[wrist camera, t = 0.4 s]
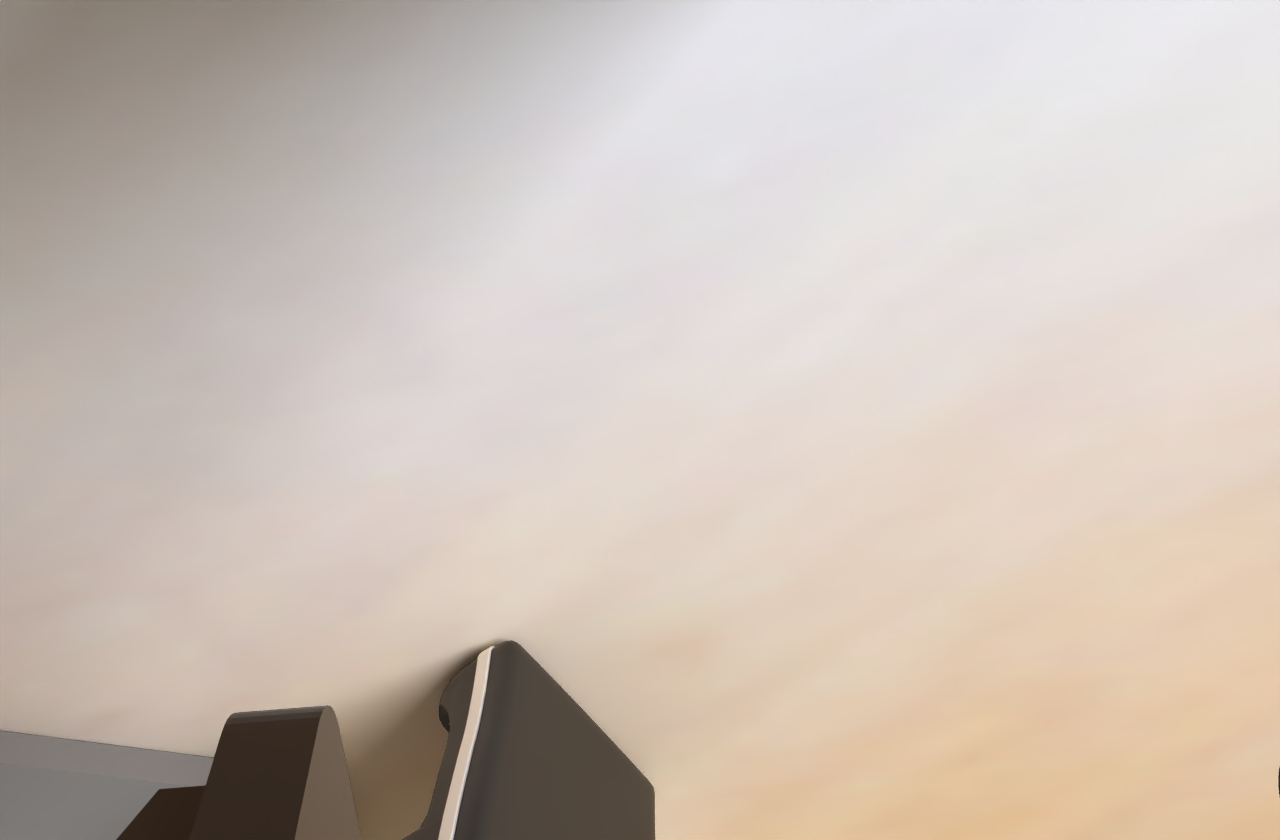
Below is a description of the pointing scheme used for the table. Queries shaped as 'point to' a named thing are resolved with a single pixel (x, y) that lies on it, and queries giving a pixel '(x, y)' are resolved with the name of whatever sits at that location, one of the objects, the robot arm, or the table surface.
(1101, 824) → the table surface
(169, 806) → the robot arm
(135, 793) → the charging dock
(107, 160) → the table surface
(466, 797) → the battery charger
